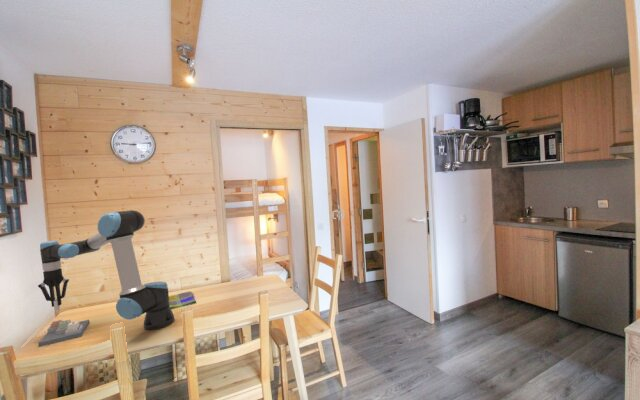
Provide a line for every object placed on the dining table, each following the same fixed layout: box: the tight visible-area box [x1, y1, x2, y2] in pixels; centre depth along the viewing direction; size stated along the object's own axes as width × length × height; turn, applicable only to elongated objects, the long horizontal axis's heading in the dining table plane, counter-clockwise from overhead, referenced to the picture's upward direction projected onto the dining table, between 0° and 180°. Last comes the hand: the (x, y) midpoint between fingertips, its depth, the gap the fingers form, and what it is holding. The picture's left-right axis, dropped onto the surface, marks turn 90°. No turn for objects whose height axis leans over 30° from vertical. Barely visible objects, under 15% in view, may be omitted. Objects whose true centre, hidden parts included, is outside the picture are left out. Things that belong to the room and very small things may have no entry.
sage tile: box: [59, 319, 72, 330], centre depth 161 cm, size 4×4×3 cm
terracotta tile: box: [50, 319, 63, 328], centre depth 164 cm, size 4×4×3 cm
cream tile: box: [68, 320, 80, 331], centre depth 158 cm, size 4×4×3 cm
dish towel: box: [169, 291, 197, 310], centre depth 198 cm, size 18×24×3 cm
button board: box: [37, 319, 90, 348], centre depth 161 cm, size 20×17×4 cm
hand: (57, 311), depth 163 cm, fingers closed
